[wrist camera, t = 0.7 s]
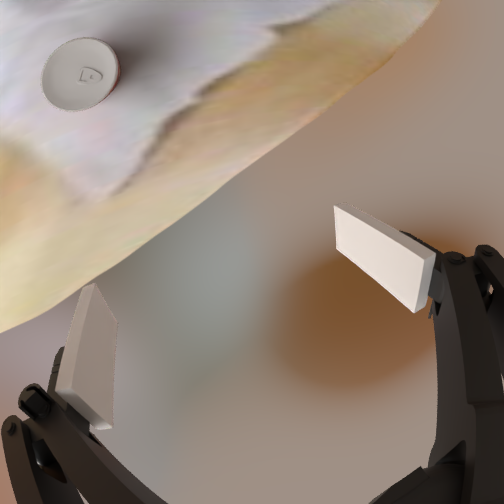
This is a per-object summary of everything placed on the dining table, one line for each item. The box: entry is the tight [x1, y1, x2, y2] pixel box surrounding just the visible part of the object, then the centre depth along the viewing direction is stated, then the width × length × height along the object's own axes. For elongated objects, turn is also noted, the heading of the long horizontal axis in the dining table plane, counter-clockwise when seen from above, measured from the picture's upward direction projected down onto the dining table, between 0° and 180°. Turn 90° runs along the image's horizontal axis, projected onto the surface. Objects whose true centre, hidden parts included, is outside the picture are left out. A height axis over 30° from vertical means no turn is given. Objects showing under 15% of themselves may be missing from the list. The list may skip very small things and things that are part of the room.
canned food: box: [41, 37, 121, 112], centre depth 22 cm, size 8×8×11 cm
